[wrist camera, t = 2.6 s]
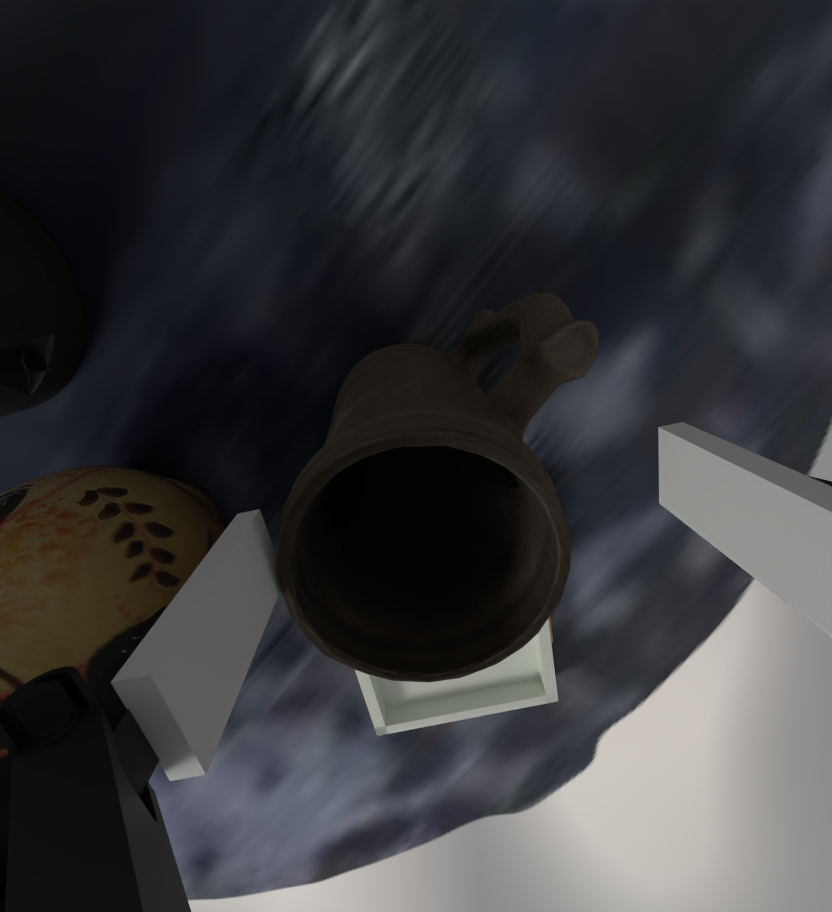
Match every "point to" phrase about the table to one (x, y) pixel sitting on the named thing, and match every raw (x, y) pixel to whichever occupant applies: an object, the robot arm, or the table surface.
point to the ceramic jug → (92, 565)
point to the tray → (465, 690)
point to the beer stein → (435, 503)
